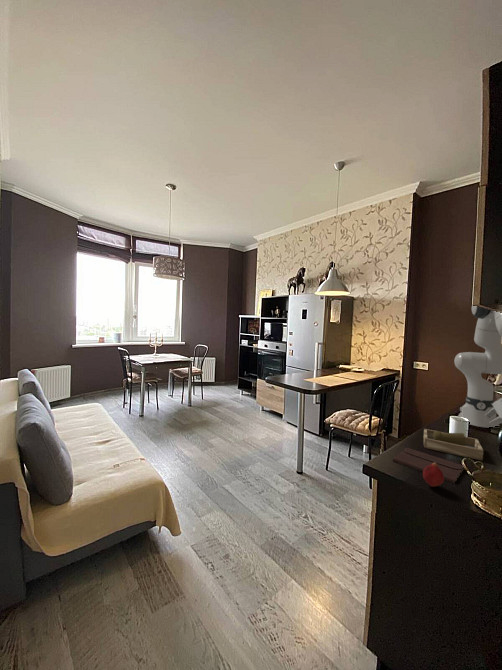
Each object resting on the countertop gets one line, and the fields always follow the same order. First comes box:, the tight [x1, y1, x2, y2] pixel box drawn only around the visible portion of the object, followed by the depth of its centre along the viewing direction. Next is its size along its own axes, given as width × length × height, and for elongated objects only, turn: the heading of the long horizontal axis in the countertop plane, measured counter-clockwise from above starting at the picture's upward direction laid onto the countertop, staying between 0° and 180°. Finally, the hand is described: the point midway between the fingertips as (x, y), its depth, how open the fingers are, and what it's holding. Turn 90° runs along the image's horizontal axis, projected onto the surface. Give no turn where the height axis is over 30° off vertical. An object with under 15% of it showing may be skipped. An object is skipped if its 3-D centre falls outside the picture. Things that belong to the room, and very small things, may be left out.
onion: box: [422, 463, 445, 488], centre depth 95 cm, size 6×6×8 cm
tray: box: [423, 428, 484, 461], centre depth 127 cm, size 14×20×4 cm
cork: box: [433, 430, 466, 446], centre depth 128 cm, size 6×6×11 cm
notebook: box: [392, 447, 465, 484], centre depth 110 cm, size 15×20×2 cm
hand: (488, 420), depth 121 cm, fingers open, 8 cm apart
